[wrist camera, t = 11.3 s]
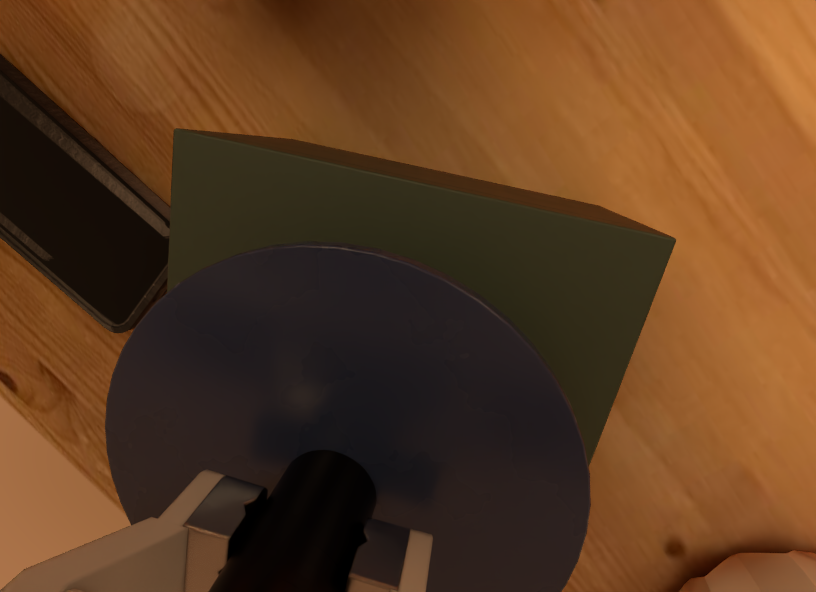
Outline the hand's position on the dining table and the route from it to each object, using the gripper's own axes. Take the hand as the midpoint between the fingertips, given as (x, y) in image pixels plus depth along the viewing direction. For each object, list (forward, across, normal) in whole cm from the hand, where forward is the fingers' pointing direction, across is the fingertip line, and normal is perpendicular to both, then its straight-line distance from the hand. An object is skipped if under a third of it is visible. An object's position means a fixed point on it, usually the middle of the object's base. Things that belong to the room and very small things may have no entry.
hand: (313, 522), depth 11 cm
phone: (+15, +20, -2) cm, 25 cm away
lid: (+2, 0, 0) cm, 2 cm away
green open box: (+15, 0, 0) cm, 15 cm away
